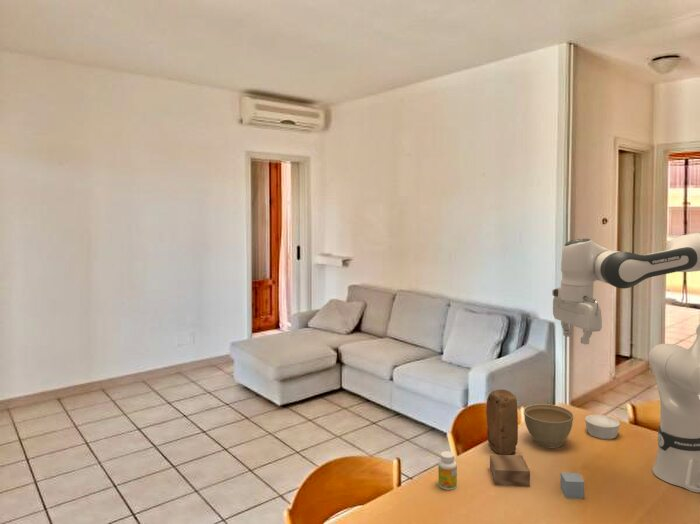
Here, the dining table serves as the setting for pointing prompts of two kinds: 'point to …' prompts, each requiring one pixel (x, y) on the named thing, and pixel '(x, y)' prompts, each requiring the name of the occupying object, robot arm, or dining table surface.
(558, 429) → the planter bowl
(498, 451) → the brown rounded block
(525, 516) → the dining table surface
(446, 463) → the supplement bottle
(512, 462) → the walnut block
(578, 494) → the slate cube
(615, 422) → the ramekin
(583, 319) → the robot arm
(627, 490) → the dining table surface
